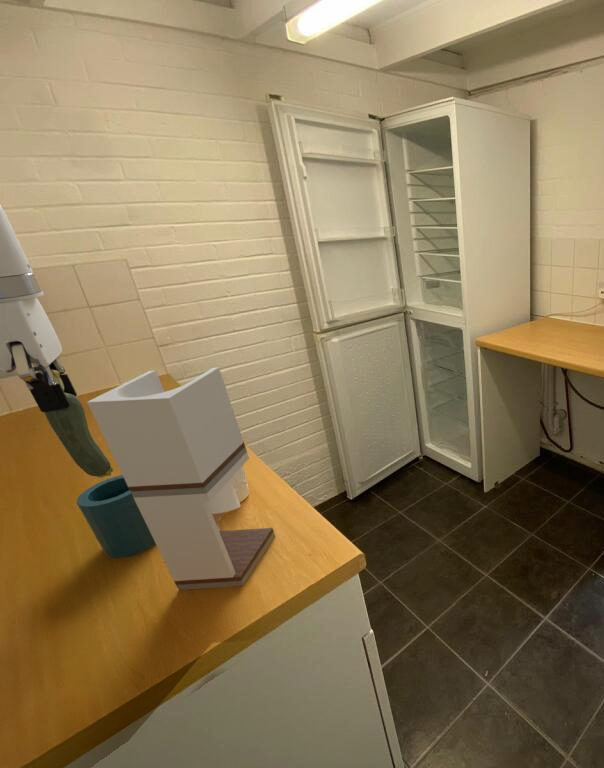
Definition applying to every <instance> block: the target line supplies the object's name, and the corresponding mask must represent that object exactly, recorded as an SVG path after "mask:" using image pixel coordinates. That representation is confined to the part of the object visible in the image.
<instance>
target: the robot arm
mask: <svg viewBox="0 0 604 768" xmlns="http://www.w3.org/2000/svg"><path fill="white" fill-rule="evenodd" d="M42 289H43V288H41V285H40V283H39V281H38V278H37V277H36V275H35V272H34V271H33V268H32V267H31V265H30V262H29V260H28V258H27V255H26V254H25V252H24V249H23V247H22V245H21V242H20V241H19V239H18V237H17V234H16V231H15V230H14V228H13V226H12V224H11V222H10V220H9V217H8V215H7V214H6V211H5V210H4V208H3V206H2V204H0V371H1V372H3V373H5V374H9V373H13V372H14V371H15V370H16V372H17V377H18V378H19V379H20V380H22V381H23V382H24V383H25V385H26V387H27V389H28V390H29V391H30V394H31V395H32V398H33V399H34V401H35V403H36V405H37V406H38V408H39V411H40V412H41V413H44V412H50V411H54V410H59V409H64V408H68V407H69V406H70V403H69V401H68V399H67V397H66V395H65V393H69V394H72V395H74V396H75V397H77V396H78V394H77V391H76V389H75V387H74V385H73V383H72V381H71V379H70V377H69V374H68V373H67V372H66V369H65V366H63V363H62V361H61V360H60V357H59V356H60V355H61V354H62V352H63V347H62V344H61V341H60V339H59V337H58V335H57V333H56V330H55V328H54V327H53V324H52V322H51V320H50V319H49V318H50V317H49V316H48V315H47V313H46V311H45V309H44V307H43V305H42V304H41V302H40V301H39V299H38V298H40V297H43V296H44V295H45V294H44V291H43V290H42ZM51 370H57V371H58V372H60V378H61V380H62V382H63V385H64V391H63V389H62V387H61V385H60V383H57V384H56V382H55V379H54V377H53V374H52V372H51Z"/></svg>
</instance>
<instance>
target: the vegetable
mask: <svg viewBox="0 0 604 768" xmlns="http://www.w3.org/2000/svg"><path fill="white" fill-rule="evenodd" d="M51 372H52V374H53V377H54V379H55V382H56V384H57V383H60V385H61V387H62V389H63V391H64V385H63V382H62V380H61V378H60V372H58V371H57V370H51ZM65 395H66V397H67V399H68V401H69V403H70V406H69V407H68V408H64V409H59V410H54V411H50V412H43V413H44V415H45V418H46V420H47V422H48V424H49V425H50V427H51V429H52V430H53V432H54V433H55V435H56V436H57V438H58V439H59V441H60V443H61V444H62V445H63V446H64V449H65V450H66V451H67V453H68V454H69V456H70V457H71V459H72V460H73V461H74V463H75V464H76V465H77V466H78V467H79V468H80V469H81V470H82V471H83V472H85V473H86V475H89V476H91V477H97V478H104V477H108V476H109V477H110V476H111V475H112V473H113V472H114V469H113V467H112V466H111V462H110V461H109V459H108V458H107V457H106V455H105V454H104V452H103V450H102V449H101V448H100V447H99V445H98V444H97V443H96V442H95V440H94V438H93V436H92V434H91V431H90V430H89V425H88V421H87V416H86V413H85V409H84V406H83V404H82V402H81V401H80V399H79V398H78V397H77V396H76V397H75V396H74V395H72V394H69V393H65Z"/></svg>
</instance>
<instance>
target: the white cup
mask: <svg viewBox="0 0 604 768" xmlns="http://www.w3.org/2000/svg"><path fill="white" fill-rule="evenodd" d="M231 481H232V483H233V486H234V489H235V492H236V494H237V497H238V500H239V503H240V504H241V503H242V502H243V501H245V500H246V499H247V498H248V497H249V495H250V487H249V485H248V478H247V475H246V470H245V466H244V465H243V466H242V467H241V468H240V469H239V470H238V471H237V472H236V473H235V474H234V475H233V477H232V478H231Z"/></svg>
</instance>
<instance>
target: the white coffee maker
mask: <svg viewBox="0 0 604 768" xmlns="http://www.w3.org/2000/svg"><path fill="white" fill-rule="evenodd" d="M86 403H87V406H88V408H89V409H90V412H91V414H92V416H93V418H94V420H95V422H96V424H97V426H98V428H99V431H100V432H101V434H102V436H103V438H104V441H105V442H106V444H107V446H108V449H109V451H110V453H111V455H112V457H113V459H114V461H115V463H116V465H117V467H118V469H119V471H120V473H121V475H123V477H124V479H125V481H126V483H127V485H128V488H129V490H130V492H131V494H132V496H133V498H134V500H135V502H136V504H137V506H138V508H139V510H140V512H141V514H142V516H143V518H144V520H145V522H146V524H147V526H148V529H149V531H150V533H151V535H152V537H153V539H154V541H155V543H156V544H155V545H156V547H157V549H158V551H159V553H160V555H161V557H162V560H163V561H164V563H165V565H166V568H167V570H168V571H169V574H170V576H171V578H172V580H173V582H174V584H175V586H176V588H177V590H178V591H185V590H187V591H188V590H199V589H200V590H201V589H202V590H203V589H216V588H231V587H233V588H234V587H244V586H245V585H246V583H247V581H248V580H249V578H250V577H251V576H252V573H253V572H254V570H255V569H256V567H257V566H258V564H259V562H260V561H261V559H262V558H263V556H264V555H265V553H266V551H267V550H268V548H269V547H270V545H271V543H272V542H273V540H274V539H275V537H276V534H275V532H274V531H275V530H274V528H273V527H263V528H247V529H245V528H244V529H229V530H221V529H220V527H219V522H220V520H221V519H222V518H223V517H224V516H225V515H226V514H227V513H228V512H231V511H235V510H237V509H239V508H240V507H241V502H240V503H239V500H238V497H237V494H236V492H235V489H234V486H233V483H232V481H231V478H232V477H233V475H234V474H235V473H236V472H237V471H238V470H239V469H240V468H241V467H242V466H243V467H244V465H245V464H246V463H247V462H248V461H249V460H250V457H249V452H248V451H247V447H246V444H245V440H244V438H243V435H242V432H241V429H240V427H239V426H240V425H239V424H238V420H237V417H236V414H235V412H234V408H233V406H232V402H231V400H230V397H229V393H228V390H227V388H226V385H225V382H224V379H223V376H222V372H221V369H220V367H212V368H209V370H206V371H205V372H204V373H202V374H201V375H199V376H197V377H195V378H194V379H192V380H190V381H188V382H186V383H185V384H183V385H181V386H179V387H176V388H174V389H173V388H172V389H170V390H166V391H165V389H164V386H163V384H162V382H161V380H160V377H159V374H158V372H157V370H156V369H155V370H148V371H146V372H144V373H142V374H140V375H138V376H136V377H135V378H131V379H130V380H128V381H127V382H124V383H122V384H120V385H118V386H117V387H114V388H112V389H110V390H108V391H106V392H104V393H102V394H100V395H98V396H96V397H94V398H92V399H90V400H88V401H87V402H86Z"/></svg>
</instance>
